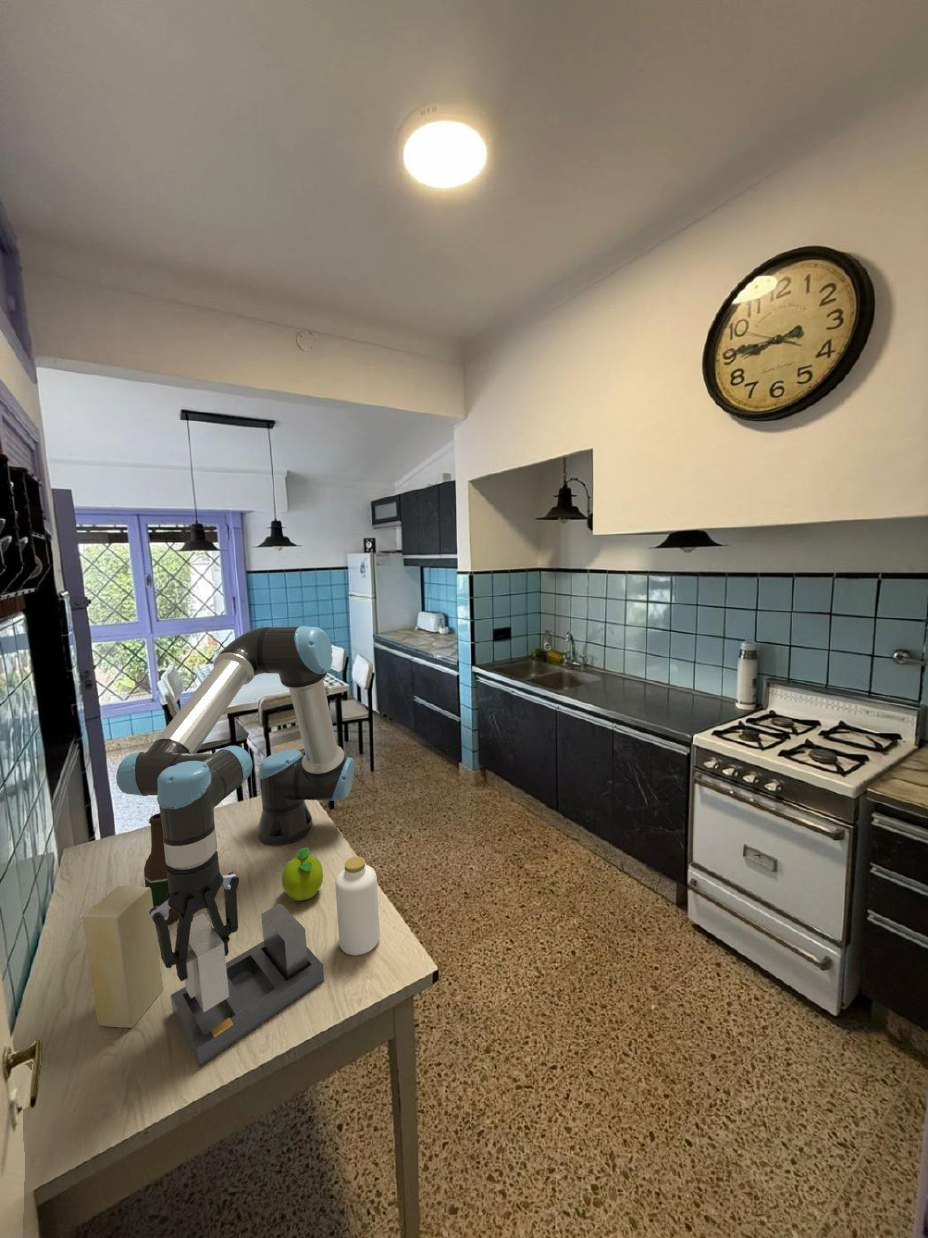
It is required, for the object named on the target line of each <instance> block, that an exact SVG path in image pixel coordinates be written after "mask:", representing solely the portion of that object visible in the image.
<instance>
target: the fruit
mask: <svg viewBox="0 0 928 1238" xmlns="http://www.w3.org/2000/svg"><path fill="white" fill-rule="evenodd" d="M281 875H282V876H281V885H282V888H283V890H284V892H285V894H287V895H288V896H289V897H290V898H291V899H293V900H295V901H298V902H300V901H301V902H302V901H305V900H309V899H311V898H313V896H315V895H316V893H317V892H318V891H319V889H321V886H322V885H323V879H324V871H323V865H322V863H321V861H320V859H318V858H317V857H316V856H314V855H311V854H310V848H309V847H303V848H300V849H298V850H297V856H296V857H294V858H293V859H291V860H289V861H288V862H287V863H286V864H285V865H284V868H283V870H282V873H281Z"/></svg>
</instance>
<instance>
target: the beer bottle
mask: <svg viewBox="0 0 928 1238" xmlns="http://www.w3.org/2000/svg"><path fill="white" fill-rule="evenodd" d="M148 824H149V825H150V840H151V841H150V843H151V847H150V854H149V855H148V858H147V859H146V861H145V863H144V867H143V879H144V887H150V888H151V892H152V901H153V908H154V907H157V908H158V907H159V906H161V905H162V904H163V903H164V902H166V897H167V895H168V892H169V887H168V878H167V870H166V867H167V864H166V860H165V850H164V840H163V829H162V822H161V815H160V812H157V813H155V814H153V815H151V817H149V819H148ZM178 919H179V917H178V911H176V910H174V909H173V908H170V909H169V916H168V919H167V920H166V922H167V924H168V925H172V924H174V923H175V922H176V921H177V922H178ZM155 926H156V924H155Z"/></svg>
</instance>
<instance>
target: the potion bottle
mask: <svg viewBox="0 0 928 1238" xmlns="http://www.w3.org/2000/svg"><path fill="white" fill-rule="evenodd" d="M343 868H344V869H342V870H341V871H340V872H339V873H338V875H336V878H335V882H334V884H335V885H334V886H335V899H336V900H335V901H336V912H337V925H338V926H337V927H338V942H339V948H340V949H341V951H342V952H344V953H345V954H347V955H350V956H362V955H365V954H367V953H369V952H370V951H372V950H373V949H374V948H375V947H376V946H377V944H378V942H379V941H380V937H381V931H380V930H381V929H380V914H379V912H380V910H379V894H378V877H377V874H376V870H375V869H374V868H373V867H371V866H369V865H368V864H367V862H366V859H365V858H364V857H362V856H352V857H349V858H348V859H346V861H345V862H344V867H343Z"/></svg>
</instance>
